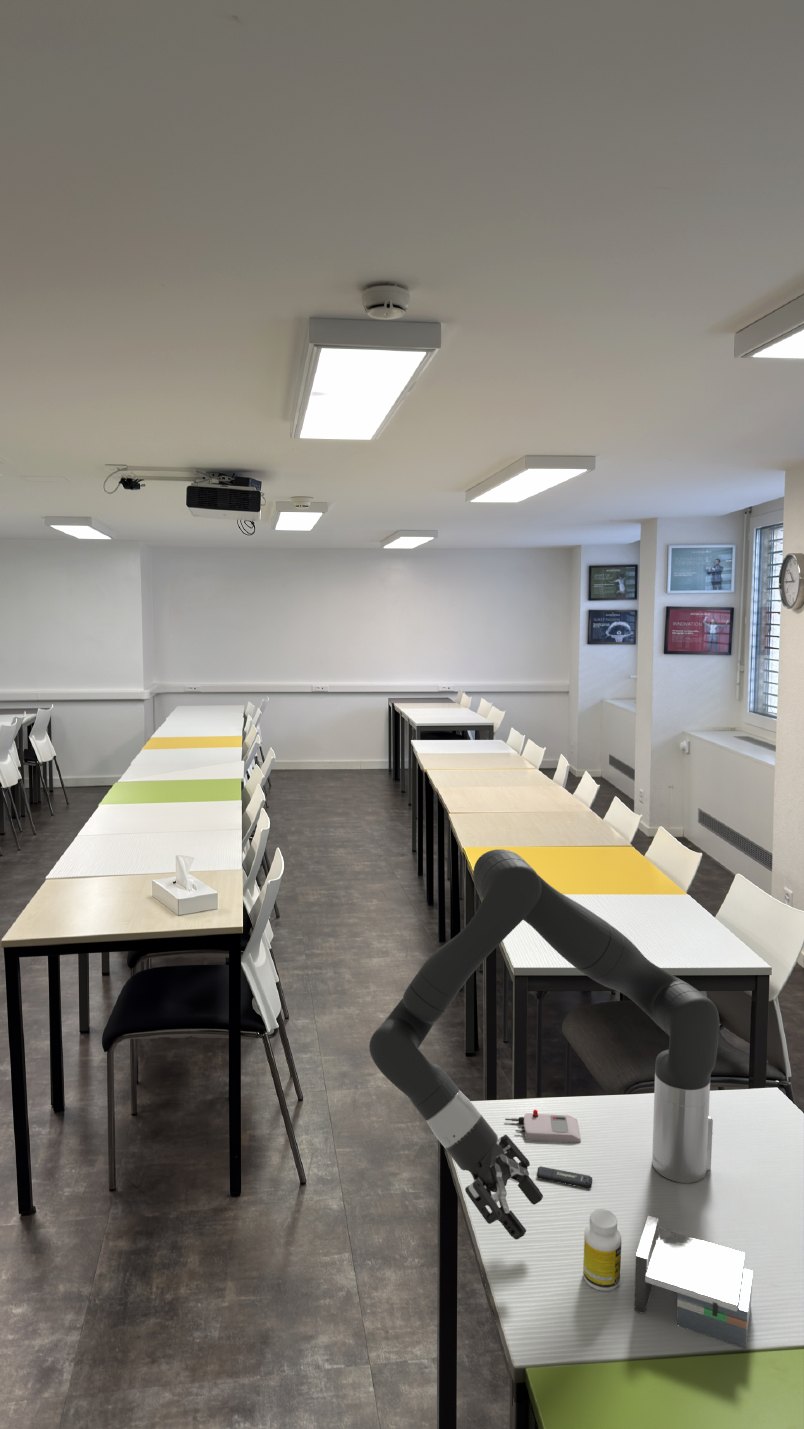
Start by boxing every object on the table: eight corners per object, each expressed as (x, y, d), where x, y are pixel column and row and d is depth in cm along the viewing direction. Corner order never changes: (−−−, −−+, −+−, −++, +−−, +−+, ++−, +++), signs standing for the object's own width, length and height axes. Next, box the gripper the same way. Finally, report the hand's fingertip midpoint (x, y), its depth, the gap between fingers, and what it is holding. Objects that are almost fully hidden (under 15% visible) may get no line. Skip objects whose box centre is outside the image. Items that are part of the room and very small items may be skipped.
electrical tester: (590, 1144, 165) (591, 1129, 164) (505, 1140, 166) (505, 1125, 166) (586, 1123, 171) (586, 1109, 171) (504, 1119, 173) (505, 1105, 172)
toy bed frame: (633, 1313, 125) (634, 1258, 124) (647, 1263, 134) (649, 1212, 133) (735, 1348, 119) (737, 1291, 118) (742, 1294, 128) (745, 1240, 127)
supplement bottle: (621, 1295, 129) (622, 1233, 128) (582, 1289, 130) (584, 1228, 129) (619, 1267, 134) (621, 1208, 133) (583, 1262, 135) (584, 1203, 134)
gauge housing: (676, 1326, 123) (677, 1290, 123) (685, 1285, 131) (686, 1251, 130) (745, 1349, 120) (747, 1312, 119) (750, 1306, 127) (752, 1271, 126)
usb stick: (535, 1180, 155) (535, 1172, 155) (538, 1171, 157) (538, 1163, 157) (590, 1191, 152) (591, 1183, 152) (592, 1182, 154) (592, 1174, 154)
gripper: (460, 1142, 132) (533, 1237, 128) (493, 1094, 144) (560, 1179, 141) (427, 1166, 135) (498, 1259, 131) (462, 1116, 147) (527, 1200, 144)
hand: (530, 1218), depth 136 cm, fingers open, 8 cm apart
